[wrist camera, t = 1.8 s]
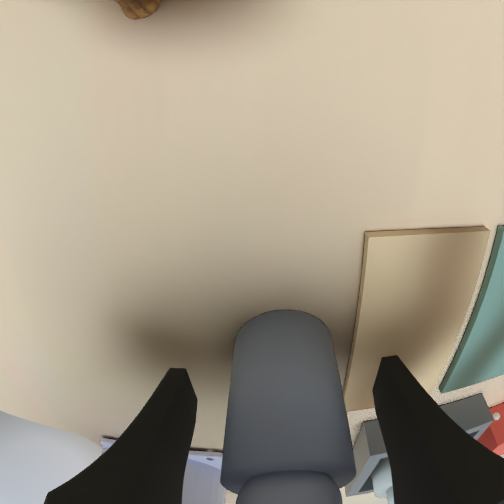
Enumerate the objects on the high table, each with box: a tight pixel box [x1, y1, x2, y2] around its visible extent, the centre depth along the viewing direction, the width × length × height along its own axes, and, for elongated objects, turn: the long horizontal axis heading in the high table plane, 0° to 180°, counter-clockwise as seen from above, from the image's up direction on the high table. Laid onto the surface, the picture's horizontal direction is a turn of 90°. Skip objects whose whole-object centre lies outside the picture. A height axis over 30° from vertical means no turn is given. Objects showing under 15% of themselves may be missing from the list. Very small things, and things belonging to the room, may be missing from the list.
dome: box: [371, 457, 394, 504], centre depth 15 cm, size 6×6×4 cm
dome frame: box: [345, 393, 494, 497], centre depth 16 cm, size 9×9×2 cm
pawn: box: [220, 310, 356, 504], centre depth 9 cm, size 4×4×8 cm
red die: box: [477, 403, 504, 456], centre depth 15 cm, size 4×4×4 cm
